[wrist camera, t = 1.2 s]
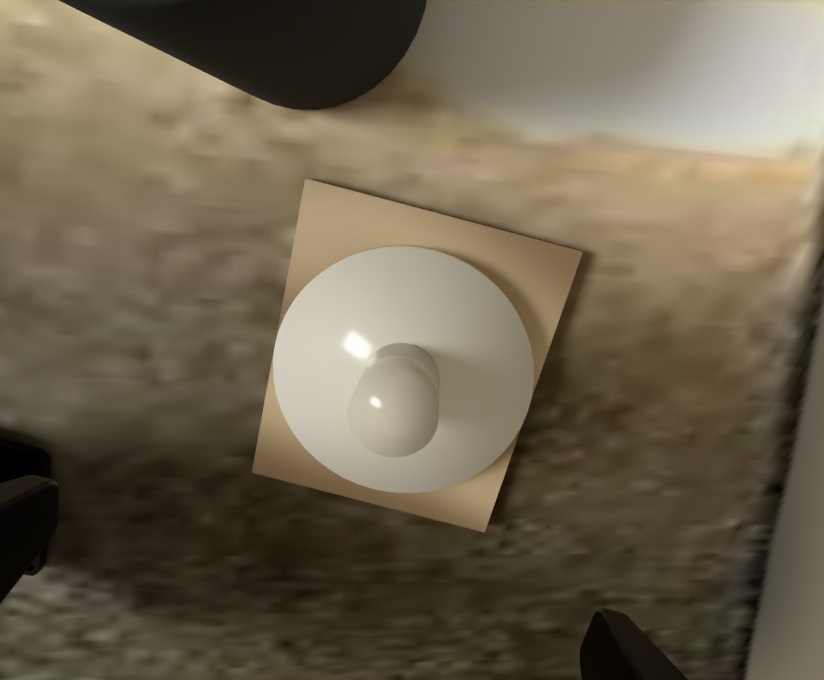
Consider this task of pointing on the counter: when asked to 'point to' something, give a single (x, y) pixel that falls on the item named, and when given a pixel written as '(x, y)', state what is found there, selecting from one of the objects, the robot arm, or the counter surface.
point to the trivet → (408, 225)
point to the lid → (403, 369)
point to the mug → (275, 42)
